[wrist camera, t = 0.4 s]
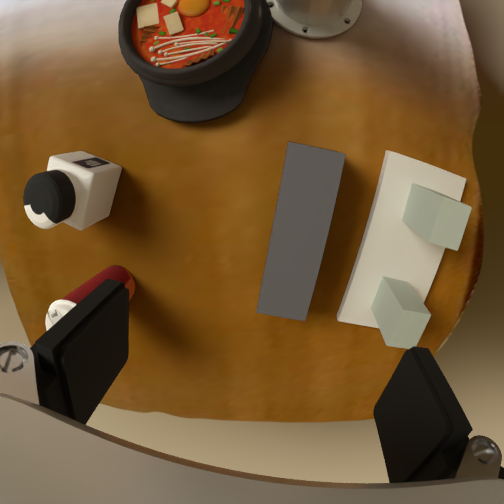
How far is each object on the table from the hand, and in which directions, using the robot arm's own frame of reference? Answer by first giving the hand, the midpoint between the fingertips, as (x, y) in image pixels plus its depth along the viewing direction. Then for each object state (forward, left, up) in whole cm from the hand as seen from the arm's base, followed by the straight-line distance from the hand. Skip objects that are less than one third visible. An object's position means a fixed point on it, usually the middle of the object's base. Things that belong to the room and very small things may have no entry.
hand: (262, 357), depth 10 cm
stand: (+4, +18, -32) cm, 37 cm away
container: (+4, -26, -33) cm, 42 cm away
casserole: (-19, -14, -33) cm, 40 cm away
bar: (+4, +3, -33) cm, 33 cm away
